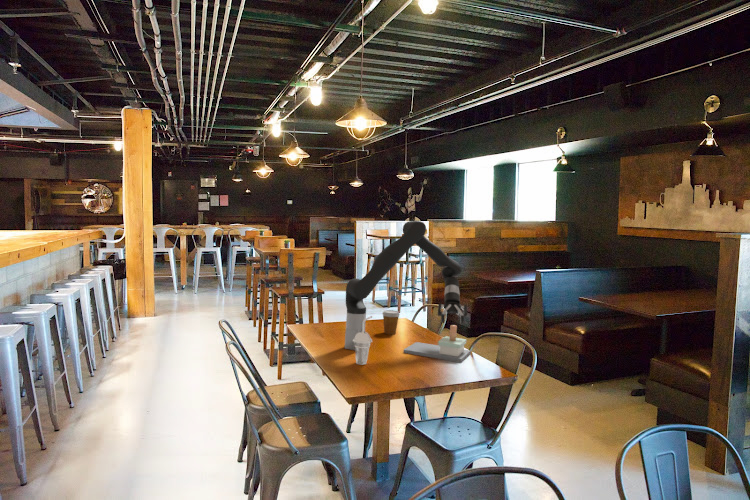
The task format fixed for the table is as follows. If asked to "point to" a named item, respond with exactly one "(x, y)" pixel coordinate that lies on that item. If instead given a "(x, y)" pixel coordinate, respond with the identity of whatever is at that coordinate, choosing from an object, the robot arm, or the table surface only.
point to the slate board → (434, 352)
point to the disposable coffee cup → (390, 321)
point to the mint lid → (452, 339)
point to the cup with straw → (362, 345)
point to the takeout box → (451, 350)
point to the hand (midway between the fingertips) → (452, 322)
